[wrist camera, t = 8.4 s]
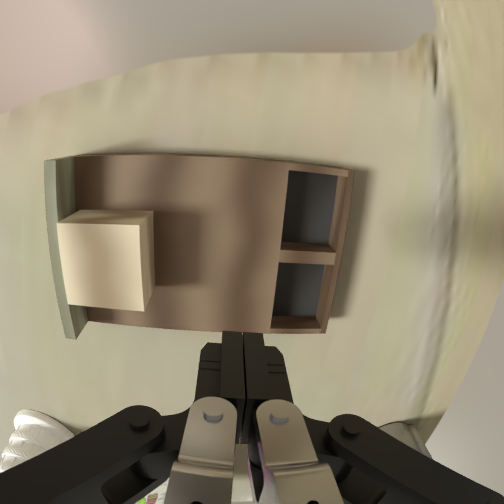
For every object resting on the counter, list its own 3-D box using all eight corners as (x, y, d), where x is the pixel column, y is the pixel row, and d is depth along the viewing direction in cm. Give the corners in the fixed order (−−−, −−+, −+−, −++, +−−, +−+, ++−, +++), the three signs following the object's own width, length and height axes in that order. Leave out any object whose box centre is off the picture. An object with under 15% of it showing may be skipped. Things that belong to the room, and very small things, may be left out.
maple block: (153, 210, 22) (139, 225, 19) (155, 285, 24) (144, 311, 21) (80, 209, 22) (56, 223, 18) (87, 281, 24) (67, 304, 20)
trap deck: (342, 168, 25) (371, 176, 20) (318, 318, 29) (335, 353, 24) (77, 155, 23) (44, 160, 17) (88, 306, 27) (65, 337, 22)
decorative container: (50, 457, 36) (22, 538, 19) (4, 411, 32) (-39, 494, 15) (97, 456, 36) (72, 553, 19) (47, 406, 32) (1, 510, 15)
